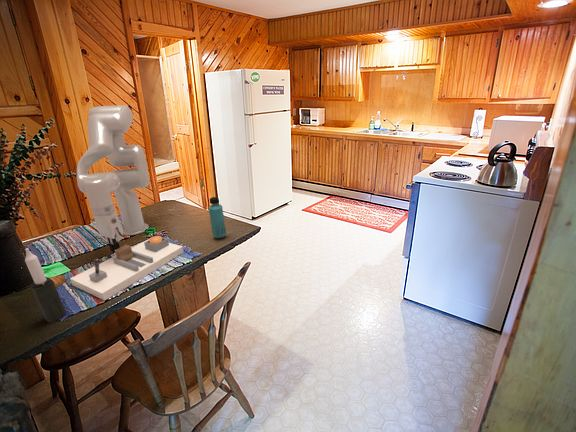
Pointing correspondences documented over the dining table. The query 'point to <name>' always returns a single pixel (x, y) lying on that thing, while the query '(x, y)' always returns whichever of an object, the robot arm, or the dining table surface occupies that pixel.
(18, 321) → the dining table surface
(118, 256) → the slider knob
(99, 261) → the toggle lever
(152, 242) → the push button
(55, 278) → the pastry
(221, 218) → the beverage bottle
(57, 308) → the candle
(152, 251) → the control panel
